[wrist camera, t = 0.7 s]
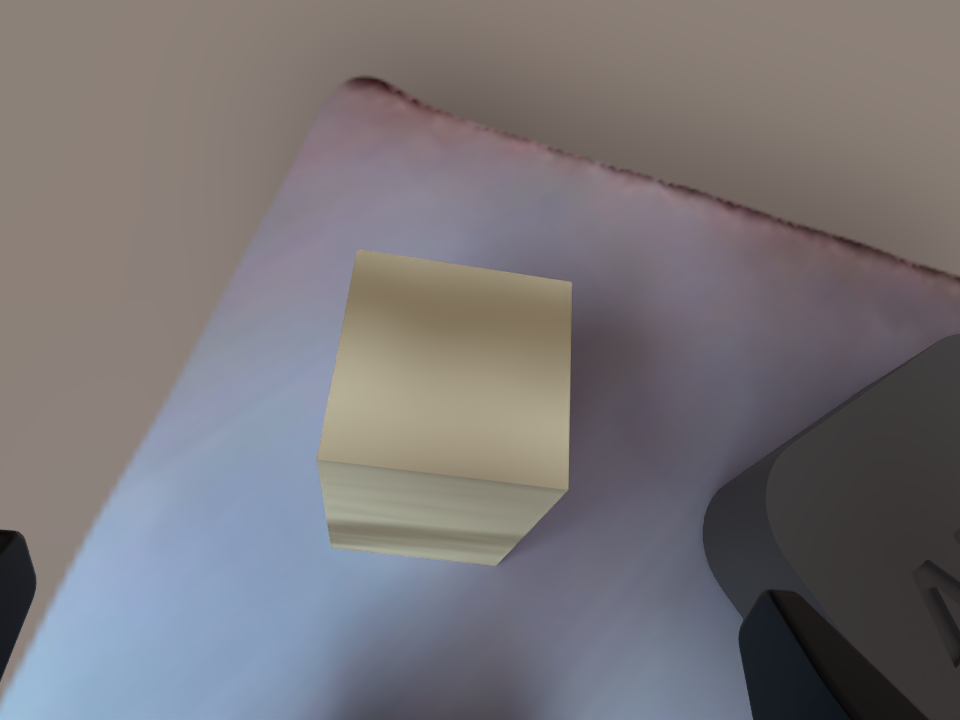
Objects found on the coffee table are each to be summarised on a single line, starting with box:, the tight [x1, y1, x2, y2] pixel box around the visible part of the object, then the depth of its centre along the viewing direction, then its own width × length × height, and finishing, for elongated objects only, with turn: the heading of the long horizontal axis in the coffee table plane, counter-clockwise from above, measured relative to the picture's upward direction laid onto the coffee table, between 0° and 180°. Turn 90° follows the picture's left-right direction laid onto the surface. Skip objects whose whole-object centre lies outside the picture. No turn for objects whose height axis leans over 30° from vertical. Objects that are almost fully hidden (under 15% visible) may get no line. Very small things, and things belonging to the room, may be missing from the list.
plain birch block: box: [317, 249, 572, 566], centre depth 22 cm, size 6×6×10 cm
